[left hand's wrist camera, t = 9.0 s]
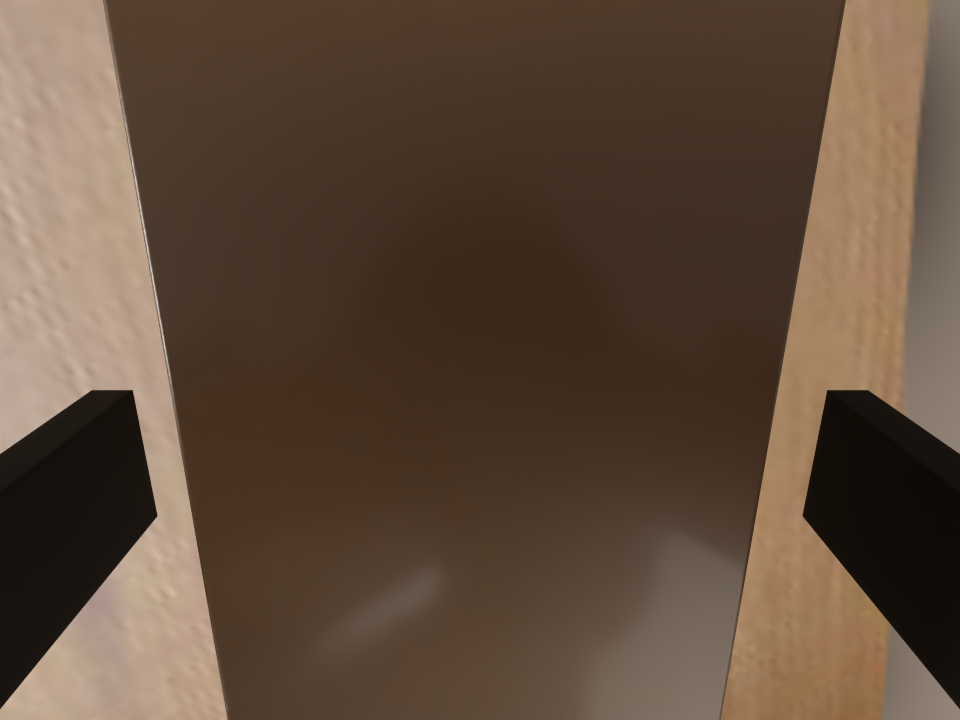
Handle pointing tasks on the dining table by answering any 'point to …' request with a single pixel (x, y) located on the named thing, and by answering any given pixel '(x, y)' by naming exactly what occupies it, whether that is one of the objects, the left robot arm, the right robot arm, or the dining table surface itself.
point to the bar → (474, 335)
